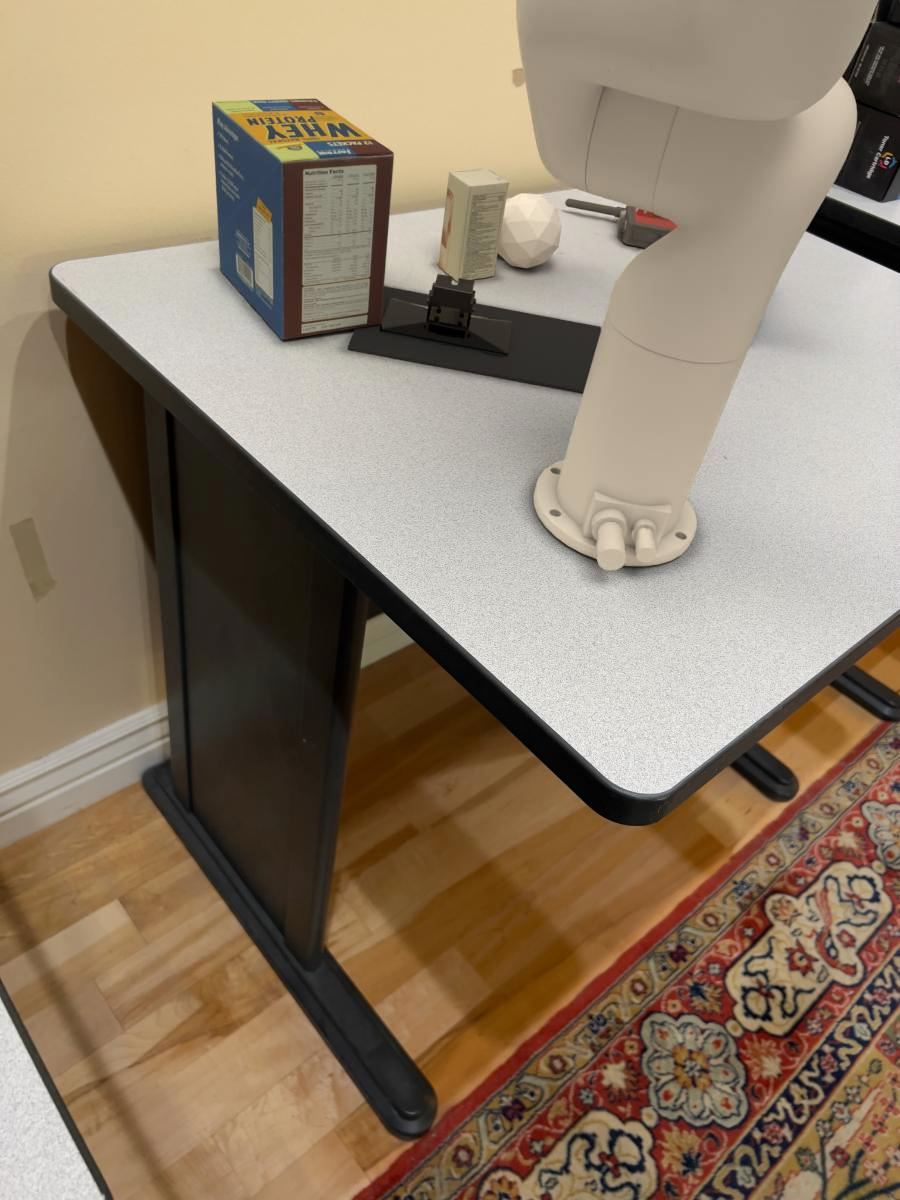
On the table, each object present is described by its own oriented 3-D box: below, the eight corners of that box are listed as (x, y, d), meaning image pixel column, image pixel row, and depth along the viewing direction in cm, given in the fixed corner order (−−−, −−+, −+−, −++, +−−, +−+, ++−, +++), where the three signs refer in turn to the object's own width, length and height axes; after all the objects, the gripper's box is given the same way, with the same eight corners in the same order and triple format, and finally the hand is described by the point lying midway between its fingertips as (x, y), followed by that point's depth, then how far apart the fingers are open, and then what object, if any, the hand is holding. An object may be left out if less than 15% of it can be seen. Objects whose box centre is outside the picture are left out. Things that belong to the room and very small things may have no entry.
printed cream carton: (473, 260, 100) (488, 166, 93) (494, 277, 97) (512, 182, 91) (434, 265, 97) (447, 169, 91) (455, 282, 95) (470, 185, 88)
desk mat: (604, 397, 82) (605, 394, 82) (347, 349, 81) (347, 346, 81) (600, 329, 92) (600, 326, 92) (372, 286, 91) (372, 283, 91)
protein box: (312, 259, 93) (316, 96, 83) (383, 326, 85) (397, 152, 74) (217, 270, 89) (208, 98, 78) (280, 342, 80) (281, 159, 69)
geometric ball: (532, 288, 104) (586, 245, 99) (491, 275, 97) (546, 229, 93) (508, 232, 105) (560, 187, 100) (467, 216, 99) (520, 168, 94)
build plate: (511, 325, 89) (521, 281, 86) (507, 359, 84) (517, 313, 81) (390, 300, 89) (395, 255, 86) (378, 333, 83) (383, 286, 80)
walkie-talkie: (711, 237, 117) (562, 209, 116) (723, 203, 114) (570, 174, 113) (720, 264, 111) (562, 234, 110) (733, 228, 108) (571, 197, 107)
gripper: (816, -289, 53) (709, 61, 65) (1058, -238, 53) (906, 100, 66) (792, -282, 58) (697, 39, 71) (1012, -236, 59) (879, 75, 71)
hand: (798, 68), depth 68 cm, fingers closed
